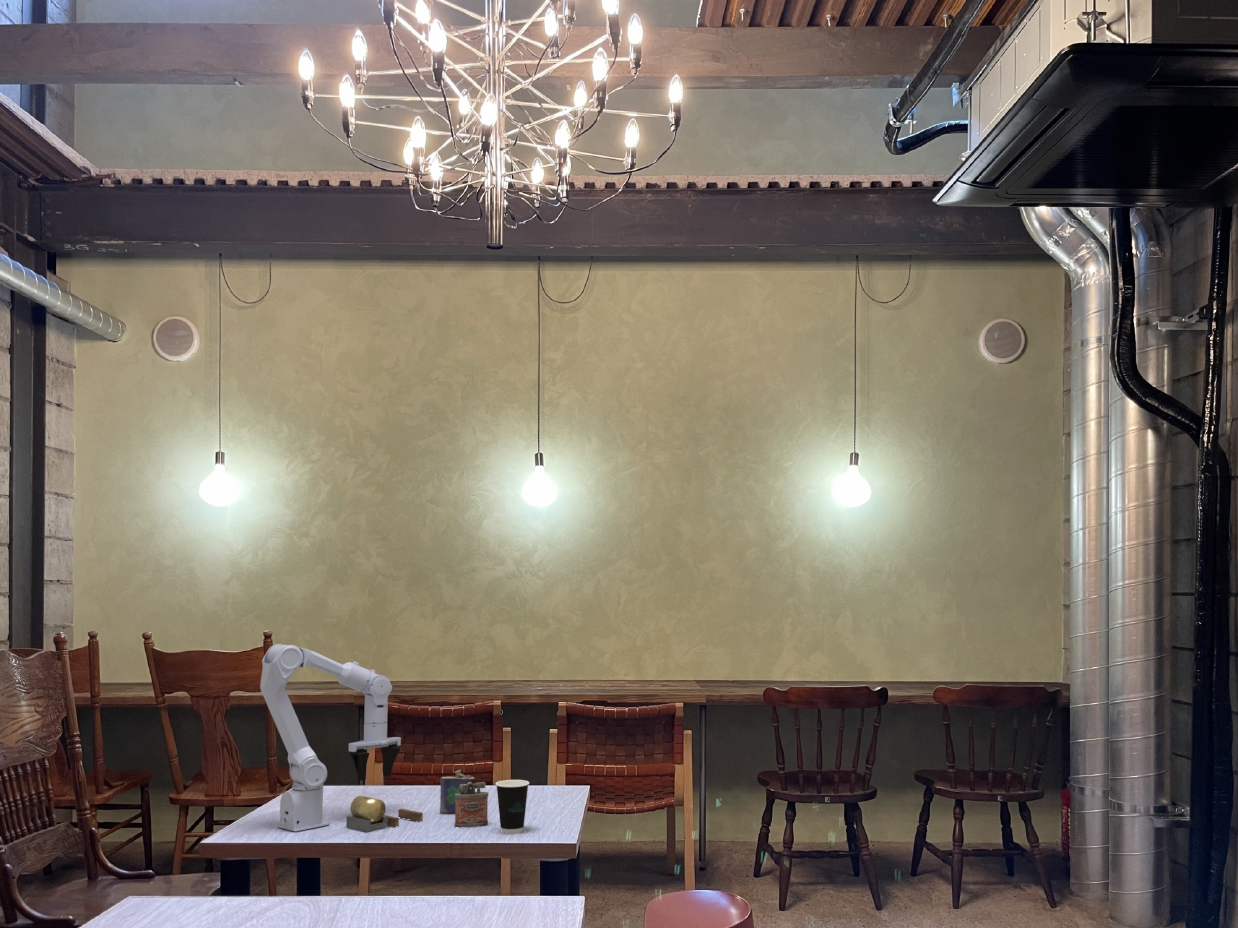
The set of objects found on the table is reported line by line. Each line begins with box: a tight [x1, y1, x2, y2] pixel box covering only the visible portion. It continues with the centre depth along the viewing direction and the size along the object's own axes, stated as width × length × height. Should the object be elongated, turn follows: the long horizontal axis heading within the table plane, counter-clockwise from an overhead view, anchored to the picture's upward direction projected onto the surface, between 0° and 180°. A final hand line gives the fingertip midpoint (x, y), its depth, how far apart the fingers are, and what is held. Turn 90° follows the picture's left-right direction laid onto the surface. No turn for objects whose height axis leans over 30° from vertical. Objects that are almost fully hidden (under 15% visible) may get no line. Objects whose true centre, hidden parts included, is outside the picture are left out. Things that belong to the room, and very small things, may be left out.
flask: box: [439, 769, 476, 815], centre depth 255 cm, size 9×3×11 cm, turn 79°
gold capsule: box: [349, 795, 387, 822], centre depth 240 cm, size 7×5×5 cm
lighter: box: [454, 781, 489, 828], centre depth 241 cm, size 8×3×10 cm, turn 105°
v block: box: [345, 814, 389, 833], centre depth 239 cm, size 6×8×3 cm
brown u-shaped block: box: [384, 808, 424, 828], centre depth 245 cm, size 8×8×2 cm
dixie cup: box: [495, 779, 530, 835], centre depth 235 cm, size 8×8×11 cm
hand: (374, 777), depth 253 cm, fingers open, 7 cm apart
